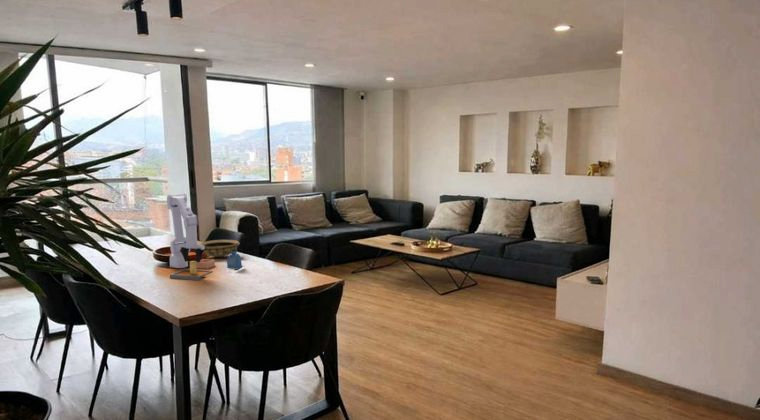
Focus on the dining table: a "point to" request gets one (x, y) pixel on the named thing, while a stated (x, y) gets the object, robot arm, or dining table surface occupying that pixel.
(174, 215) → the robot arm
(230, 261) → the perfume bottle
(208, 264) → the peach hollow square block
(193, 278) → the tray
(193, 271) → the dowel
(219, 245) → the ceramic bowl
